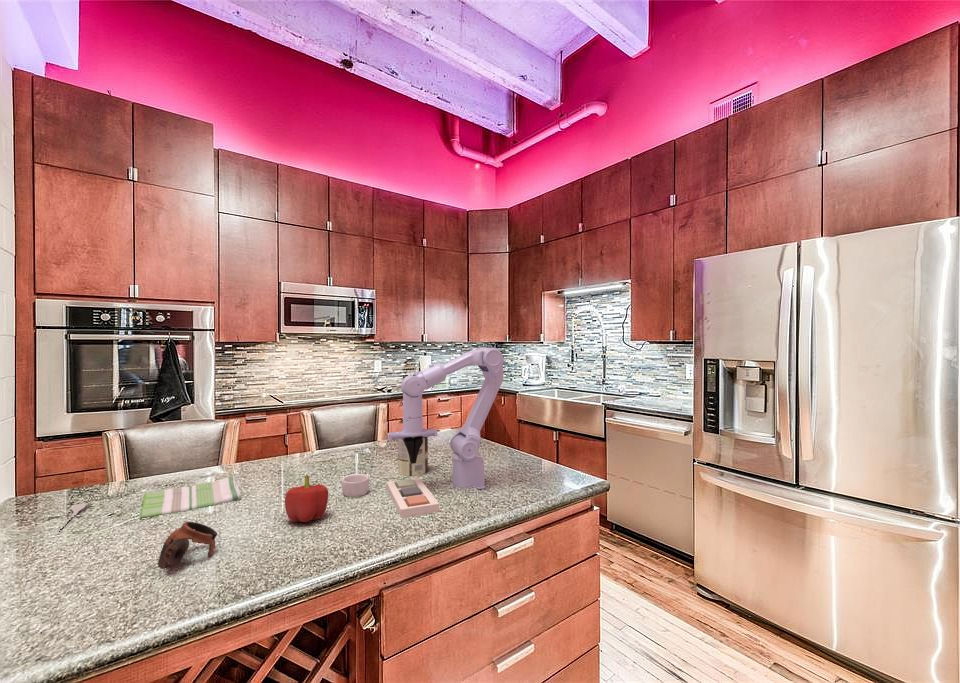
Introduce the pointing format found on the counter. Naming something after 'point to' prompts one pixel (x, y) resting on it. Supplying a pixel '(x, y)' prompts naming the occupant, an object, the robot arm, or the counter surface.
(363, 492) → the teacup
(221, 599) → the counter surface
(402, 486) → the key sage
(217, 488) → the dish towel
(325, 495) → the vegetable
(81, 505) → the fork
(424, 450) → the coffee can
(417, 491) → the key charcoal
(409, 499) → the key terracotta
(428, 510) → the pink tray
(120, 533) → the counter surface
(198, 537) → the brown curved piece
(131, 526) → the counter surface
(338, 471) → the counter surface
